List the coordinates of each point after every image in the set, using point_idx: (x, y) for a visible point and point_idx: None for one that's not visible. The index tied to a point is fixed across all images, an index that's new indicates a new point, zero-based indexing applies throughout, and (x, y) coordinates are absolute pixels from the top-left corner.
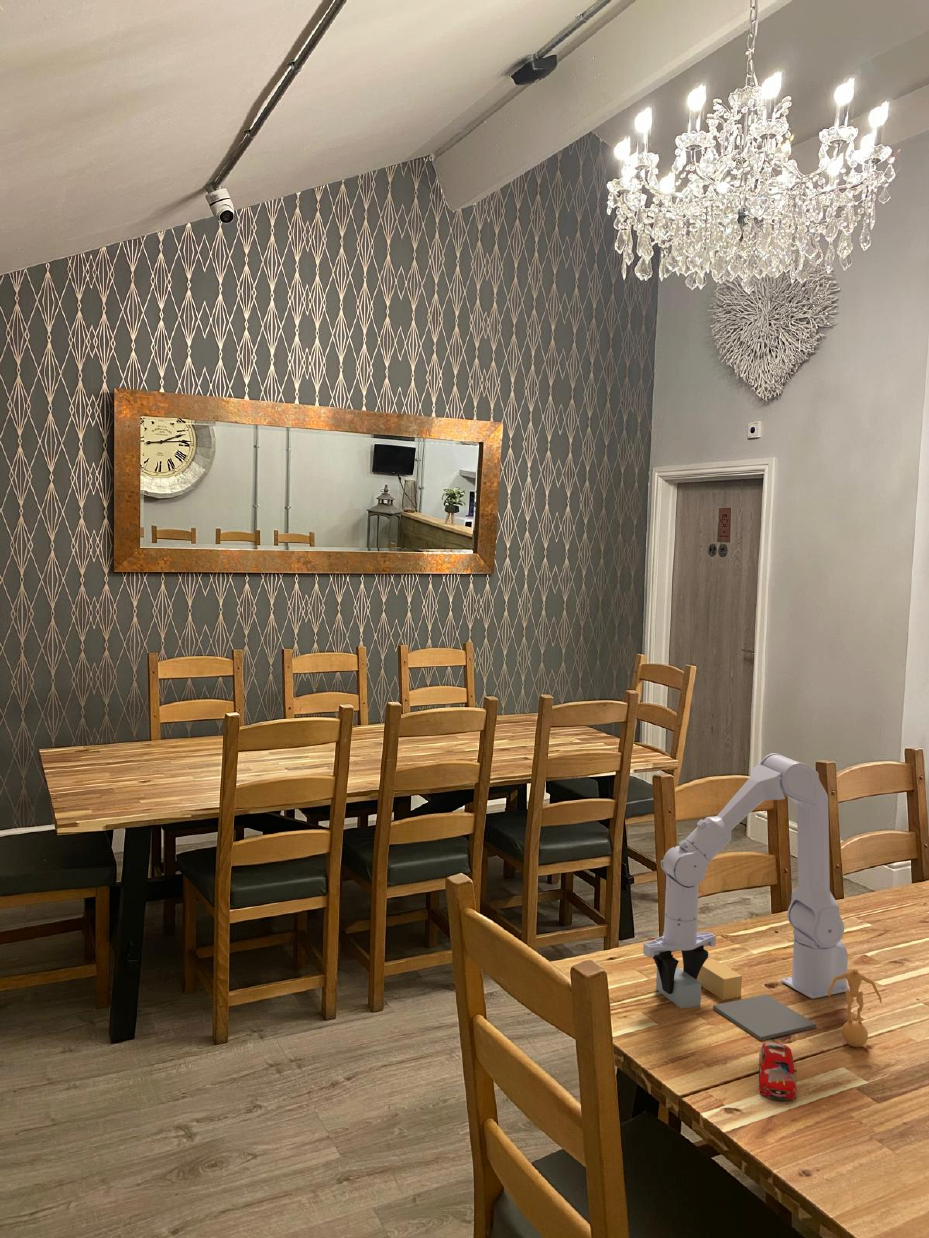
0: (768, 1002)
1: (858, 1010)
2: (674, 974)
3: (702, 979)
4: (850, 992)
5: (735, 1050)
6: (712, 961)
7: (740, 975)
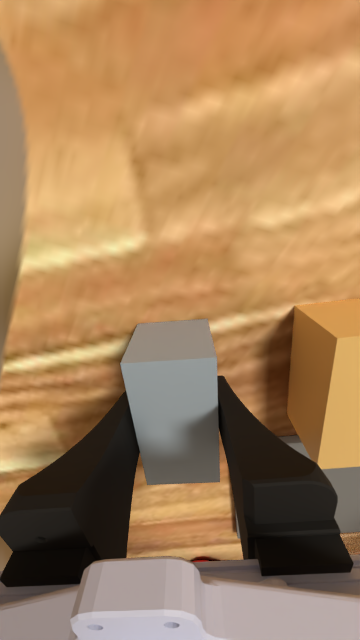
0: None
1: None
2: (132, 483)
3: (302, 350)
4: None
5: (174, 538)
6: None
7: None
